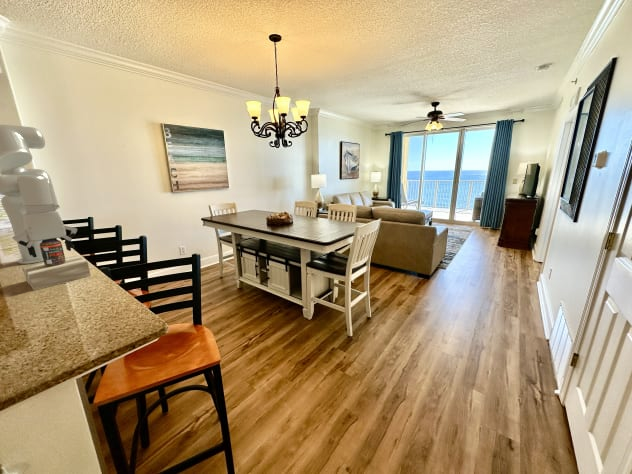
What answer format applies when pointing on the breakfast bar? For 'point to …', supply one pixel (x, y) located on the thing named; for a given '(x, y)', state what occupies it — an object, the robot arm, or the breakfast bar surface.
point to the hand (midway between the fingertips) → (52, 253)
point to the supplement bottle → (52, 252)
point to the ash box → (56, 272)
